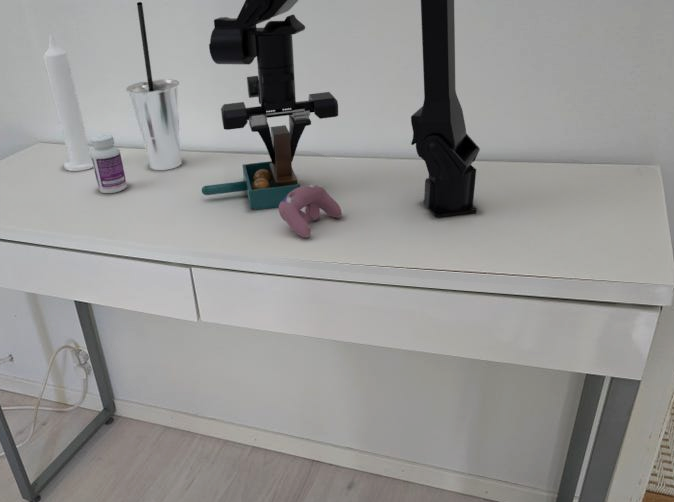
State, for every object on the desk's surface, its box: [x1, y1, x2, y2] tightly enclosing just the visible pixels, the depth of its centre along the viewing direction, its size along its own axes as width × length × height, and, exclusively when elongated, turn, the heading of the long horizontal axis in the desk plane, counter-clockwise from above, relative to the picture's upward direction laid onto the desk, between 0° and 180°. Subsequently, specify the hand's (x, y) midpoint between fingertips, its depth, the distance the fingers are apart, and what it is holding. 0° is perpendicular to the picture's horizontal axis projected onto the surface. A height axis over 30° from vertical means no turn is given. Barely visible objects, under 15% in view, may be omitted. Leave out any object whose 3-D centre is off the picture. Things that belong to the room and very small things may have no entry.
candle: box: [42, 34, 94, 172], centre depth 132 cm, size 7×7×25 cm
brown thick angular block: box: [269, 124, 299, 187], centre depth 113 cm, size 4×10×10 cm, turn 6°
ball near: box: [252, 178, 271, 190], centre depth 113 cm, size 3×3×3 cm
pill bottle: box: [90, 133, 128, 194], centre depth 123 cm, size 5×5×10 cm
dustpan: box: [201, 160, 301, 211], centre depth 115 cm, size 16×14×3 cm
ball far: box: [254, 169, 272, 183], centre depth 117 cm, size 3×3×3 cm
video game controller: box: [278, 183, 342, 239], centre depth 102 cm, size 10×5×7 cm, turn 141°
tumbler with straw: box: [125, 1, 183, 171], centre depth 126 cm, size 11×11×30 cm
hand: (282, 162), depth 114 cm, fingers closed on brown thick angular block, 2 cm apart
